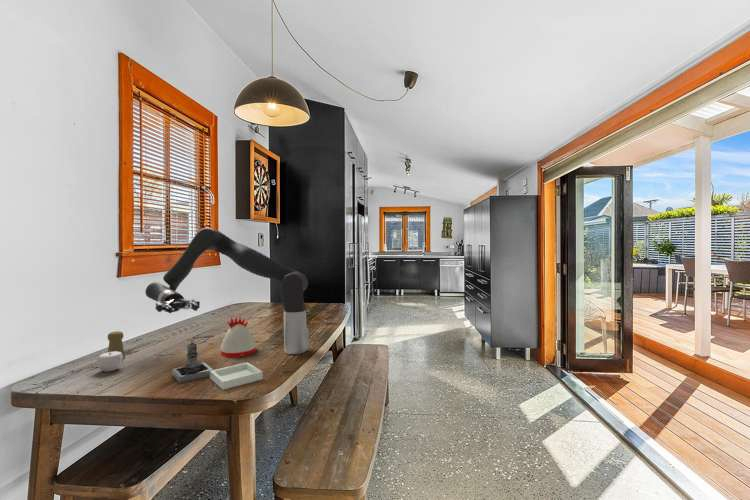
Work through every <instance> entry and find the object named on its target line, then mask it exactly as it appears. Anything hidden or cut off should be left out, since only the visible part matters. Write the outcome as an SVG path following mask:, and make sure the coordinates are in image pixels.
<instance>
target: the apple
mask: <svg viewBox="0 0 750 500" xmlns="http://www.w3.org/2000/svg"><path fill="white" fill-rule="evenodd" d="M123 360H124V359H123V354H122V353H121V352H117V351H114V352H108V351H107V352H104V353H101V354H100V355H98V357H97V359H96V364H97V367H98V368H99V370H100V371H102V372H113V371H116V370H117V369H118V368H119V367H120V366H121V365H122V363H123Z"/></svg>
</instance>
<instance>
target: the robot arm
mask: <svg viewBox="0 0 750 500" xmlns="http://www.w3.org/2000/svg"><path fill="white" fill-rule="evenodd" d="M207 250H208V251H214V252H216V253H219V254H221V255H223V256H226V257H227V258H229V259H230V260H232V261H233V262H234V263H235V264H236V265H237V266H239V267H240V269H243V270H245V271H247V272H249V273H250V274H253V275H256V276H259V277H262V278H267V279H270V280H273V281H275V282H277V283H279V284H280V293H281V295H280V296H281V304H282V308H283V349H284V350H283V352H284V353H285V354H287V355H288V354H289V355H299V354H302V353H305V352H307V351H310V350H309V327H307V304H306V302H305V300H304V292H305V290H306V289H307V288H308V286H309V282H308V278H307V277H306V275H305V274H303V273H302V272H300V271H297V270H295V269H293V268H289V267H286V266H285V265H282V264H280V263H279V262H277V261H275V260H274V259H272V258H271V257H269V256H266V255H265V254H264V253H262V252H259V251H258V250H256V249H253V248H252V247H249V246H247V245H244V244H241V243H238V242H237V241H235V240H233V239H231V238H230V237H228V236H227V235H226V234H225V233H222V231H220V230H217V229H213V228H211V227H210V228H207V227H204V228H200V229H199V230H198V231H197V232H196V233H195V235H194V236H193V238H192V240H191V241H190V243H189V244H188V246H187V247H186V249H185V250H184V251H183V253H182V254H181V256H180V257H179V258H178V260H176V262H175V263H174V264H173V265H172V266H171V267H170V268H169V269H168V271H167V272H166V273H165V274H164V275H163V277H162V278H163V281H164V282H165V284H167V285H168V286H167V285H165V284H162V283H161V282H158V281H154V282H151V283H149V284H148V285H147V287H146V288H145V290H144V291H145V296H146V297H148V298H149V299H151V300H152V301H155V308H154V309H155V310H156V311H157V312H158V313H161V312H166V313H168V314H172V313H176V312H179V311H180V310H186V311H187V310H190V309H191V310H192V311H196V312H197V311H198V309H200V307H201V306H200V304H201V302H200V301H199V299H198V300H197V299H195V298H192V299H191V300H190V299H185V297H184V296H183V295H182V294H181V293H179V292H178V291H177V289H178V287H179V286H180V284H181V283H182V282H183V281H184V280H185V279H186V278H187V277H188V275H189V274H190V273H191V271H192V270H193V267H194V265H195V263H196V261H197V259H199V257H200V256H201V255H202V254H203V253H204V252H206V251H207Z"/></svg>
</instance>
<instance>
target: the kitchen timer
mask: <svg viewBox="0 0 750 500" xmlns="http://www.w3.org/2000/svg"><path fill="white" fill-rule="evenodd" d="M238 318H239V319H238ZM238 318H237V316H236V317H235V319H233V318H232V317H230V322H229V320H227V324H228V325H229V327H230V328H228V330H227V331H226V333H225V334H224V335H223V336H222V337H223V339H222V342H221V346H220V355H221V356H222V355H223V356H222V357H225V356H228V358H231V357H232V358H236V357H238V358H239V357H245V356H249V355H251V353H252V354H254V353H255V352H256V351H257V345H256V340H255V337H254V334H253V332H251V329H249V328H248V326H247V325H248V323H249V321H248V320H247V321H246V322H245V318H243V319H241V316H239V317H238ZM248 354H249V355H248Z"/></svg>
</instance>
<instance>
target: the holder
mask: <svg viewBox="0 0 750 500" xmlns="http://www.w3.org/2000/svg"><path fill="white" fill-rule="evenodd" d="M201 363H202V365H201V368H200V369H199V371H198V372H196V373H191V374H187V372H185V370H184V367H183V366H179V367H176V368H175V367H174V368H172V369H171V371H172V372H171V374H172V377H174V379H176V381H177V382H178V383H179V384H182V383H186V382H190V381H194V380H199V379H202V378H203V379H204V378H208V377H210V371H212V370H214V369H213V368H212V367H211V366H210V365H208V364H207V363H206V362H201ZM200 370H201V371H200ZM182 374H184V375H182ZM185 374H187V375H185Z"/></svg>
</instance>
